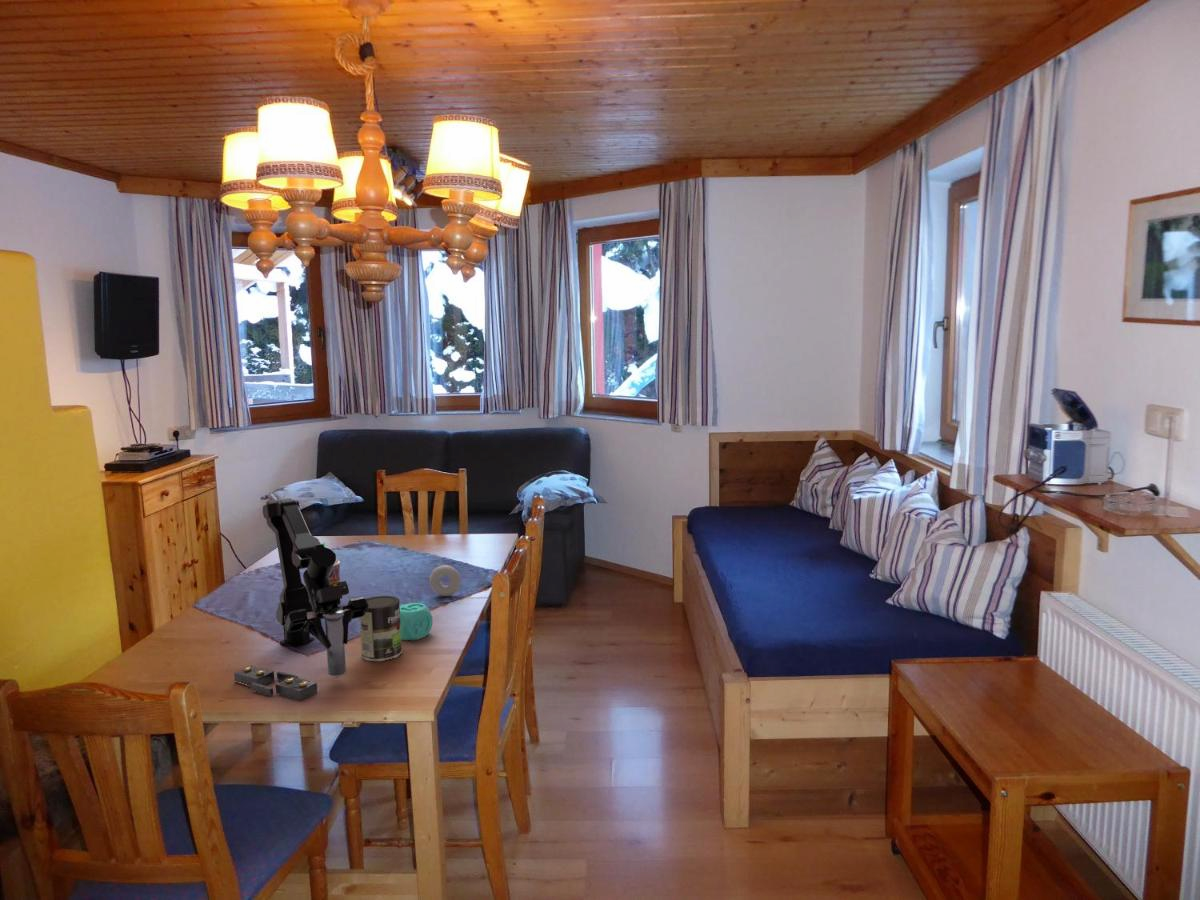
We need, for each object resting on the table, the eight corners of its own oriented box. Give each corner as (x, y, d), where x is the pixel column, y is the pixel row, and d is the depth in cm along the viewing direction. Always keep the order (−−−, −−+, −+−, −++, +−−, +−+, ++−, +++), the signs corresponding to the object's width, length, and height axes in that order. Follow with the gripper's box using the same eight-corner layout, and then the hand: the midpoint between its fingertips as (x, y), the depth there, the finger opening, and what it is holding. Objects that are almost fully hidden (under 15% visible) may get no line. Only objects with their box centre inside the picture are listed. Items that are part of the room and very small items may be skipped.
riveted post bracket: (229, 684, 201) (228, 672, 201) (257, 672, 208) (256, 660, 208) (294, 703, 190) (293, 691, 190) (322, 690, 197) (321, 677, 197)
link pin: (322, 674, 200) (318, 614, 198) (337, 666, 204) (333, 608, 202) (336, 677, 198) (332, 617, 196) (352, 670, 202) (348, 611, 200)
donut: (463, 594, 266) (461, 564, 265) (459, 598, 263) (458, 567, 261) (432, 594, 267) (430, 563, 266) (428, 597, 264) (427, 566, 262)
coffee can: (409, 647, 222) (406, 596, 220) (391, 663, 212) (388, 609, 210) (372, 645, 224) (369, 594, 222) (354, 660, 214) (350, 607, 212)
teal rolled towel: (392, 636, 231) (390, 608, 230) (416, 628, 237) (415, 600, 236) (409, 643, 226) (407, 614, 225) (433, 634, 232) (432, 606, 231)
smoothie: (326, 612, 251) (322, 547, 248) (307, 608, 256) (303, 544, 253) (348, 604, 258) (344, 541, 255) (329, 600, 263) (325, 538, 260)
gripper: (285, 579, 195) (302, 638, 188) (363, 564, 206) (383, 620, 199) (278, 603, 203) (294, 661, 196) (354, 588, 214) (372, 642, 206)
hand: (337, 645), depth 199 cm, fingers closed on link pin, 4 cm apart
